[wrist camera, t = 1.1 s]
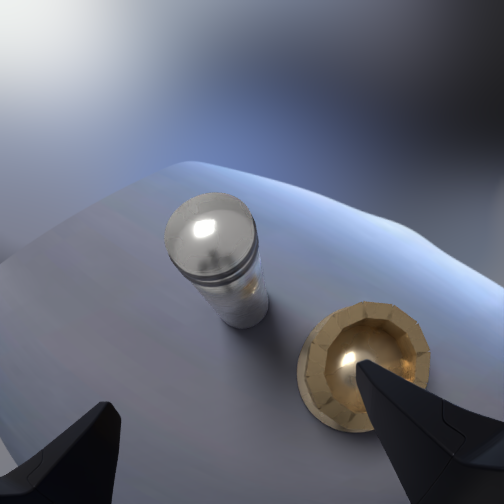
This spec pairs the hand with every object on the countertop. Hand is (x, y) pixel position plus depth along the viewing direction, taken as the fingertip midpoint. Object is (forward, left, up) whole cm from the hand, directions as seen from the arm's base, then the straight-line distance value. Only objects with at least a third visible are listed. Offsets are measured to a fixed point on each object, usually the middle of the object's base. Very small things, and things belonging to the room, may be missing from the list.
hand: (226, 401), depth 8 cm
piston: (+8, -1, -13) cm, 16 cm away
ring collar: (-1, -8, -13) cm, 16 cm away
